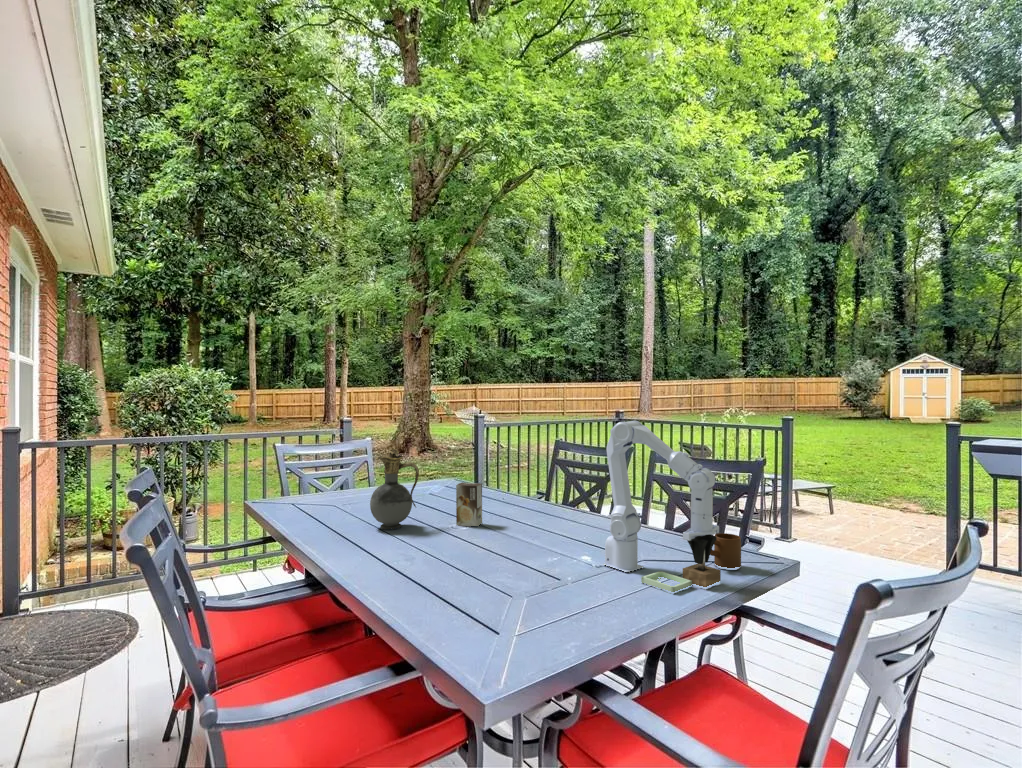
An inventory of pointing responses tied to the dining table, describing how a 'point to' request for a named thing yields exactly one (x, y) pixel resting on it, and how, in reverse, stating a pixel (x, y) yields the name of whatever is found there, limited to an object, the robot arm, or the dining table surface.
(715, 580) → the walnut block
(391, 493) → the pitcher
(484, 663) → the dining table surface
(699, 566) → the pin
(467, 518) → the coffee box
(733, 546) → the mug
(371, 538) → the dining table surface
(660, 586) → the tray
